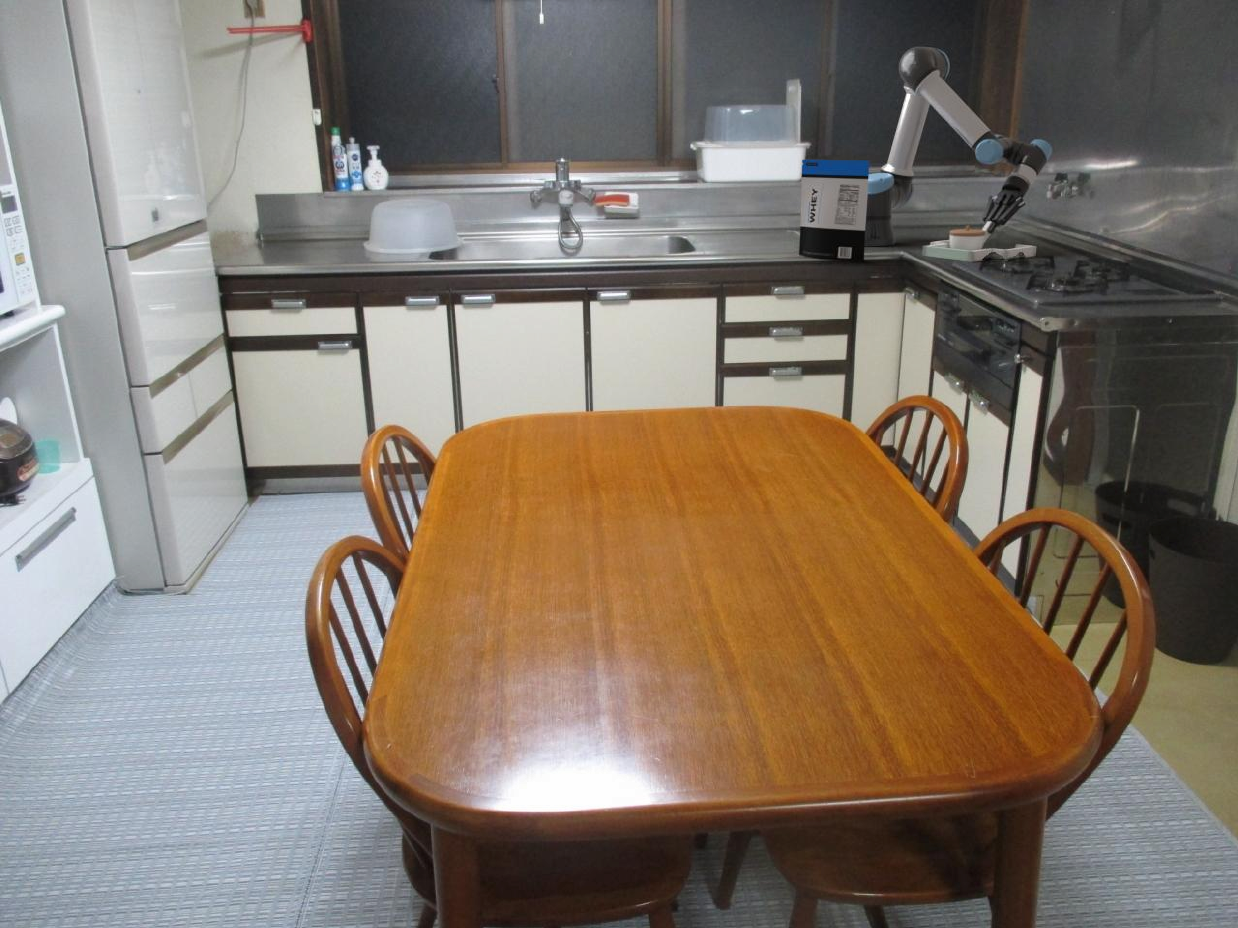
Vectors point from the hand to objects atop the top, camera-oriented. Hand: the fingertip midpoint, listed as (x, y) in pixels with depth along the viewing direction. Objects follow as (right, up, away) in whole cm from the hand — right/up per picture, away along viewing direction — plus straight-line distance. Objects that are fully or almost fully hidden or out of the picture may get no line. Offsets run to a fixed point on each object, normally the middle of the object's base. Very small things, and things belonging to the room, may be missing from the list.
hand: (980, 240), depth 325 cm
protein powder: (-48, -5, +2) cm, 48 cm away
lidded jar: (-5, -6, -2) cm, 8 cm away
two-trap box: (-3, -5, 0) cm, 6 cm away
